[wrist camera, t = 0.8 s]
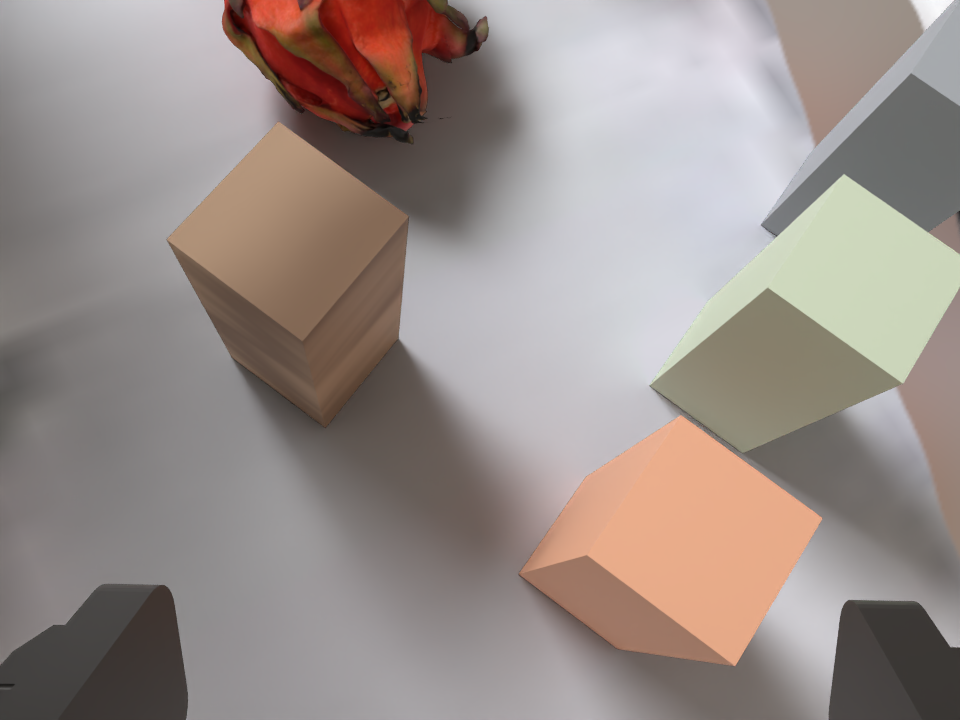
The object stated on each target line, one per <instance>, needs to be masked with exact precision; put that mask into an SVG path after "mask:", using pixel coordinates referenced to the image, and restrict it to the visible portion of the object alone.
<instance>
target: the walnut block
mask: <svg viewBox="0 0 960 720" xmlns="http://www.w3.org/2000/svg"><path fill="white" fill-rule="evenodd" d="M408 221H409V216H408V215H406V214H405V213H403V212H402V211H401V210H399V209H398V208H397V207H395V206H394V205H393V204H391V203H390V202H388V201H387V200H386V199H384V198H383V197H382V196H380V195H379V194H377V193H376V192H375V191H373V190H372V189H371V188H369V187H368V186H366V185H365V184H364V183H362V182H361V181H360V180H358V179H357V178H355V177H354V176H353V175H351V174H350V173H349V172H347V171H346V170H344V169H343V168H342V167H340V166H339V165H338V164H336V163H335V162H333V161H332V160H331V159H329V158H328V157H327V156H325V155H324V154H322V153H321V152H320V151H318V150H317V149H316V148H314V147H313V146H311V145H310V144H309V143H307V142H306V141H305V140H303V139H302V138H300V137H299V136H298V135H296V134H295V133H294V132H292V131H291V130H289V129H288V128H287V127H285V126H284V125H283V124H281V123H280V122H278V123H277V124H276V125H275V126H274V127H273V128H272V129H271V130H270V131H269V132H268V133H267V134H266V135H265V136H264V137H263V138H262V139H261V140H260V142H259V143H258V144H257V145H256V146H255V147H254V148H253V149H252V150H251V151H250V152H249V153H248V154H247V155H246V156H245V157H244V158H243V159H242V161H241V162H240V163H239V164H238V165H237V166H236V167H235V168H234V169H233V170H232V171H231V172H230V173H229V174H228V175H227V176H226V177H225V178H224V179H223V181H222V182H221V183H220V184H219V185H218V186H217V187H216V188H215V189H214V190H213V191H212V192H211V193H210V194H209V195H208V196H207V197H206V198H205V200H204V201H203V202H202V203H201V204H200V205H199V206H198V207H197V208H196V209H195V210H194V211H193V212H192V213H191V214H190V215H189V216H188V217H187V218H186V220H185V221H184V222H183V223H182V224H181V225H180V226H179V227H178V228H177V229H176V230H175V231H174V232H173V233H172V234H171V235H170V236H169V237H168V239H167V241H168V243H169V245H170V247H171V249H172V250H173V252H174V254H175V256H176V258H177V259H178V261H179V263H180V265H181V267H182V268H183V270H184V272H185V274H186V276H187V277H188V279H189V281H190V283H191V285H192V286H193V288H194V290H195V292H196V294H197V295H198V297H199V299H200V301H201V303H202V304H203V306H204V308H205V310H206V312H207V313H208V315H209V317H210V319H211V321H212V323H213V324H214V326H215V328H216V330H217V332H218V333H219V335H220V337H221V339H222V341H223V342H224V344H225V346H226V348H227V350H228V351H229V353H230V355H231V357H232V358H233V359H235V360H236V361H237V362H239V363H240V364H241V365H243V366H244V367H245V368H247V369H248V370H249V371H250V372H252V373H253V374H254V375H256V376H257V377H258V378H260V379H261V380H262V381H264V382H265V383H266V384H268V385H269V386H270V387H272V388H273V389H274V390H276V391H277V392H278V393H280V394H281V395H282V396H284V397H285V398H286V399H288V400H289V401H290V402H291V403H293V404H294V405H295V406H297V407H298V408H299V409H301V410H302V411H303V412H305V413H306V414H307V415H309V416H310V417H311V418H313V419H314V420H315V421H317V422H318V423H319V424H321V425H322V426H323V427H325V428H326V427H327V425H328V424H329V423H330V422H331V421H332V419H333V418H334V417H335V416H336V414H337V413H338V412H339V411H340V409H341V408H342V407H343V406H344V405H345V403H346V402H347V401H348V400H349V398H350V397H351V396H352V395H353V393H354V392H355V391H356V390H357V389H358V387H359V386H360V385H361V384H362V382H363V381H364V380H365V379H366V377H367V376H368V375H369V374H370V373H371V371H372V370H373V369H374V368H375V366H376V365H377V364H378V363H379V361H380V360H381V359H382V358H383V357H384V355H385V354H386V353H387V352H388V350H389V349H390V348H391V347H392V345H393V344H394V343H395V342H396V341H397V339H398V337H399V326H400V314H401V302H402V291H403V279H404V267H405V256H406V244H407V233H408Z"/></svg>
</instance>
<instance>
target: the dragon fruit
mask: <svg viewBox="0 0 960 720" xmlns="http://www.w3.org/2000/svg"><path fill="white" fill-rule="evenodd" d="M224 3H225V10H224V13H223V17H222V25H223V30H224V32H225V34H226V36H227V37H228V38H229V40H230V41H231V42H232V43H233V44H234V45H235V46H236V47H237V48H239V49H240V50H241V51H242V52H243V53H244V54H245V56H246V57H247V58H248V59H249V60H250V61H252V62H253V63H254V64H255V65H256V66H257V67H258V68H259V70H260V71H261V73H262V74H263V75H264V76H265V78H266V79H269V80H270V81H272V83H273V84H274V85H275V87H276V89H277V90H278V92H279V93H280V94H281V95H282V96H283V97H284V98H285V100H286V101H287V102H288V103H289V104H290V105H291V107H292V108H293V109H294V110H296V111H298V112H299V113H301V114H302V113H304V109H303V108H302V107H301V106H303V107H304V108H306V109H308V110H309V111H311V112H312V113H314V114H315V115H317V116H319V117H321V118H323V119H326V120H329V121H332V122H335V123H336V124H337V125H338V126H339V127H340V128H341V130H342V131H344V132H346V131H349V132H352V133H357V134H360V135H363V136H372V137H394V138H395V139H396V140H398V141H400V142H404V143H410V144H413V137H412V136H411V135H410V134H409V132H408V131H407V130H408V129H409V128H411V127H412V125H413V124H415V123H422V122H419V120H425V119H427V118H425V117H423V115H424V114H425V113H426V112H427V111H426V110H425V109H426V106H427V100H428V93H427V85H426V79H425V75H424V70H423V64H422V53H426V54H429V55H431V56H434V57H436V58H438V59H440V60H442V61H443V62H446V63H452V61H451V59H456V58H460V57H463V56H467V55H470V54H472V53H473V52H475V51H478V50H479V48H480V46H481V45H482V42H484V41H486V39H487V37H488V31H489V27H488V22H487V17H486V16H485V17H484V18H483V19H480V20H479V21H478V22H477V25H476V26H475V27H474V28H473V29H472V30H470V29H469V26H468V21H467V19H466V17H465V16H464V15H463V14H462V13H461V12H459V11H457V10H456V9H455V8H453V7H451V6H448V2H447V0H224ZM448 18H449V19H450V20H451V21H452V22H454V23H455V24H456V25H457V26H458V27H460V28H461V29H460V28H458V27H457V26H456V25H455V24H453V23H452V22H451V21H450V20H449V19H448ZM447 118H448V117H447ZM450 118H451V117H450ZM369 119H371V120H372V121H373V122H374V123H373V122H371V121H370V120H369ZM440 119H443V118H440Z"/></svg>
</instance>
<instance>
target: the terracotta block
mask: <svg viewBox="0 0 960 720" xmlns="http://www.w3.org/2000/svg"><path fill="white" fill-rule="evenodd" d="M822 519H823V518H822V517H820V516H819V515H818V514H816V513H815V512H814V511H812V510H811V509H809V508H808V507H807V506H805V505H804V504H803V503H801V502H800V501H798V500H797V499H796V498H794V497H793V496H792V495H790V494H789V493H787V492H786V491H785V490H783V489H782V488H781V487H779V486H778V485H776V484H775V483H774V482H772V481H771V480H770V479H768V478H767V477H765V476H764V475H763V474H761V473H760V472H759V471H757V470H756V469H754V468H753V467H752V466H750V465H749V464H748V463H746V462H745V461H743V460H742V459H741V458H739V457H738V456H737V455H735V454H734V453H732V452H731V451H730V450H728V449H727V448H726V447H724V446H723V445H721V444H720V443H719V442H717V441H716V440H715V439H713V438H712V437H710V436H709V435H708V434H706V433H705V432H704V431H702V430H701V429H700V428H698V427H697V426H695V425H694V424H693V423H691V422H690V421H689V420H687V419H686V418H684V417H683V416H682V415H680V416H679V417H677V418H676V419H674V420H673V421H671V422H670V423H668V424H667V425H665V426H664V427H662V428H660V429H659V430H657V431H656V432H654V433H653V434H651V435H650V436H648V437H647V438H645V439H644V440H642V441H640V442H639V443H637V444H636V445H634V446H633V447H631V448H630V449H628V450H627V451H625V452H624V453H622V454H621V455H619V456H617V457H616V458H614V459H613V460H611V461H610V462H608V463H607V464H605V465H604V466H602V467H601V468H599V469H597V470H596V471H594V472H593V473H591V474H590V475H588V476H587V477H586V478H585V479H584V480H583V482H582V483H581V485H580V486H579V488H578V489H577V491H576V492H575V493H574V495H573V496H572V498H571V499H570V501H569V502H568V503H567V505H566V506H565V508H564V509H563V511H562V512H561V514H560V515H559V516H558V518H557V519H556V521H555V522H554V524H553V525H552V527H551V528H550V529H549V531H548V532H547V534H546V535H545V537H544V538H543V539H542V541H541V542H540V544H539V545H538V547H537V548H536V550H535V551H534V552H533V554H532V555H531V557H530V558H529V560H528V561H527V563H526V564H525V565H524V567H523V568H522V570H521V571H520V573H519V575H520V576H522V577H523V578H524V579H526V580H527V581H528V582H530V583H531V584H532V585H534V586H535V587H536V588H537V589H539V590H540V591H541V592H543V593H544V594H545V595H547V596H548V597H549V598H551V599H552V600H553V601H555V602H556V603H557V604H559V605H560V606H561V607H563V608H564V609H565V610H567V611H568V612H569V613H571V614H572V615H573V616H575V617H576V618H577V619H578V620H580V621H581V622H582V623H584V624H585V625H586V626H588V627H589V628H590V629H592V630H593V631H594V632H596V633H597V634H598V635H600V636H601V637H602V638H604V639H605V640H606V641H608V642H609V643H610V644H612V645H613V646H614V647H616V648H617V649H620V650H627V651H634V652H641V653H648V654H655V655H662V656H669V657H675V658H682V659H689V660H696V661H703V662H710V663H717V664H724V665H731V666H736V664H737V662H738V661H739V659H740V657H741V656H742V654H743V652H744V650H745V649H746V647H747V645H748V644H749V642H750V640H751V639H752V637H753V635H754V634H755V632H756V630H757V629H758V627H759V625H760V623H761V622H762V620H763V618H764V617H765V615H766V613H767V612H768V610H769V608H770V607H771V605H772V603H773V601H774V600H775V598H776V596H777V595H778V593H779V591H780V590H781V588H782V586H783V585H784V583H785V581H786V579H787V578H788V576H789V574H790V573H791V571H792V569H793V568H794V566H795V564H796V563H797V561H798V559H799V558H800V556H801V554H802V552H803V551H804V549H805V547H806V546H807V544H808V542H809V541H810V539H811V537H812V536H813V534H814V532H815V530H816V529H817V527H818V525H819V524H820V522H821V520H822Z"/></svg>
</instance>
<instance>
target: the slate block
mask: <svg viewBox="0 0 960 720" xmlns="http://www.w3.org/2000/svg"><path fill="white" fill-rule="evenodd" d="M844 174H845V175H846V176H847V177H849V178H850V179H852V180H853V181H855V182H856V183H858V184H859V185H860V186H862V187H863V188H865V189H866V190H868V191H869V192H870V193H872V194H873V195H875V196H876V197H878V198H879V199H881V200H882V201H883V202H885V203H886V204H888V205H889V206H891V207H892V208H894V209H895V210H896V211H898V212H899V213H901V214H902V215H904V216H905V217H906V218H908V219H909V220H911V221H912V222H914V223H915V224H917V225H918V226H919V227H921V228H922V229H924V230H925V231H927V232H929V231H930V230H932V229H933V228H935V227H936V226H938V225H939V224H941V223H942V222H943V221H945V220H946V219H948V218H949V217H951V216H952V215H954V214H955V213H957V212H958V211H959V210H960V0H954V1H953V2H952V3H951V4H950V6H949V7H948V8H947V9H946V10H945V11H944V12H943V13H942V14H941V15H940V16H939V17H938V18H937V19H936V20H935V21H934V22H933V24H932V25H931V26H930V27H929V28H928V29H927V30H926V31H925V32H924V33H923V34H922V35H921V36H920V37H919V38H918V39H917V40H916V42H915V43H914V44H913V45H912V46H911V47H910V48H909V49H908V50H907V51H906V52H905V53H904V55H902V56H901V57H900V59H899V60H898V61H897V62H896V63H895V64H894V65H893V66H892V67H891V68H890V69H889V70H888V71H887V72H886V73H885V75H883V77H882V78H881V79H880V80H879V81H878V82H877V83H876V84H875V85H874V86H873V87H872V88H871V89H870V90H869V91H868V92H867V94H866V95H865V96H864V97H863V98H862V99H861V100H860V101H859V102H858V103H857V104H856V105H855V106H854V107H853V108H852V109H851V110H850V112H849V113H848V114H847V115H846V116H845V117H844V118H843V119H842V120H841V121H840V122H839V123H838V124H837V125H836V126H835V127H834V128H833V130H832V131H831V132H830V133H829V134H828V135H827V136H826V137H825V138H824V139H823V140H822V141H821V142H820V143H819V144H818V145H817V147H816V148H815V149H814V150H813V151H812V152H811V153H810V155H809V156H808V158H807V159H806V161H805V162H804V163H803V165H802V166H801V168H800V169H799V171H798V172H797V174H796V175H795V176H794V178H793V179H792V181H791V182H790V184H789V185H788V187H787V188H786V189H785V191H784V192H783V194H782V195H781V197H780V198H779V200H778V201H777V202H776V204H775V205H774V207H773V208H772V210H771V211H770V212H769V214H768V215H767V217H766V218H765V220H764V221H763V223H762V224H761V225H762V226H763V227H765V228H766V229H768V230H769V231H770V232H772V233H773V234H775V235H776V236H778V235H779V234H780V233H782V232H783V231H784V230H785V229H786V228H787V227H788V226H789V225H790V224H791V223H792V222H793V221H794V220H795V219H796V218H798V217H799V216H800V215H801V214H802V213H803V212H804V211H805V210H806V209H807V208H808V207H809V206H810V205H811V204H813V203H814V202H815V201H816V200H817V199H818V198H819V197H820V196H821V195H822V194H823V193H824V192H825V191H826V190H827V189H829V188H830V187H831V186H832V185H833V184H834V183H835V182H836V181H837V180H838V179H839V178H840V177H841V176H842V175H844Z"/></svg>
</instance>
